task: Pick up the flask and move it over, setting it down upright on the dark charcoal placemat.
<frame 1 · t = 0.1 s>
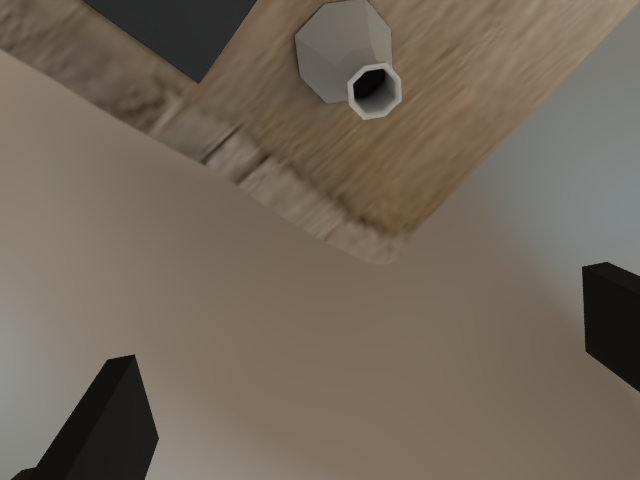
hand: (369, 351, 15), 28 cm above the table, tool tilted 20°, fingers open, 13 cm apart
flask: (343, 51, 37), on the table
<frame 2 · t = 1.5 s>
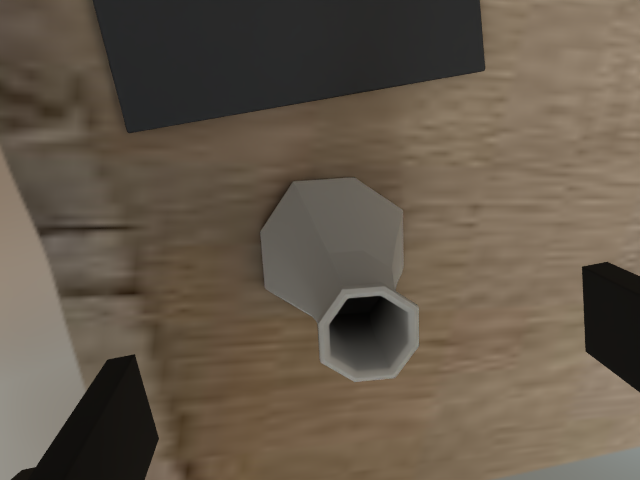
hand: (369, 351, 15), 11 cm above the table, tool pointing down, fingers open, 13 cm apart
flask: (332, 247, 25), on the table
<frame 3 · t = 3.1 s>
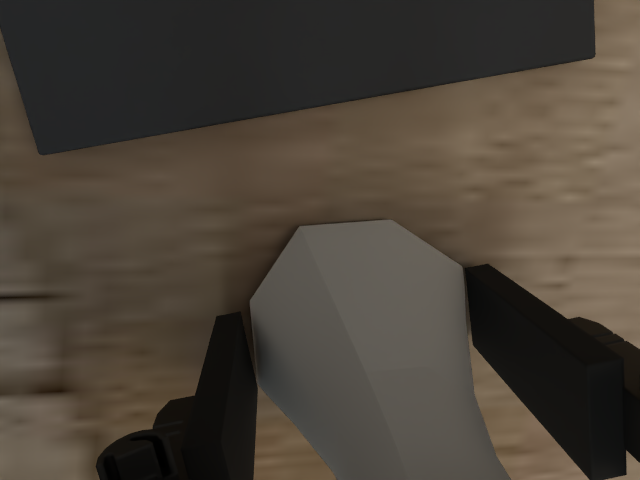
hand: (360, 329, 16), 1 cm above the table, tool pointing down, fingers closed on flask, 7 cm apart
flask: (356, 319, 17), on the table, touching gripper
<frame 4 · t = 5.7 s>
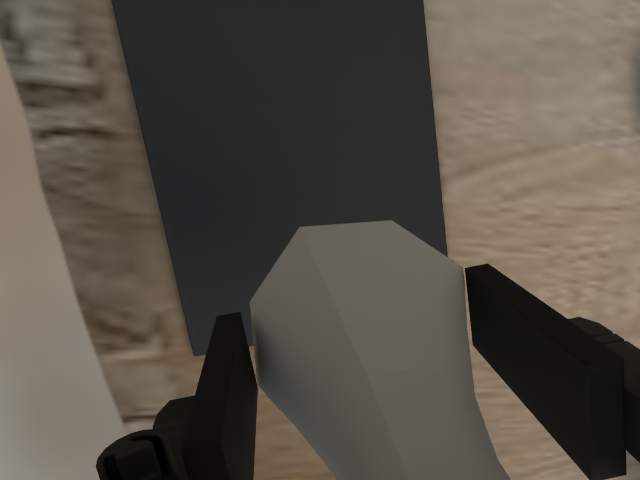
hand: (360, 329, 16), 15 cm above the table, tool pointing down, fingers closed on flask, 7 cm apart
flask: (356, 320, 17), point 14 cm above the table, touching gripper
placemat: (298, 168, 29), on the table
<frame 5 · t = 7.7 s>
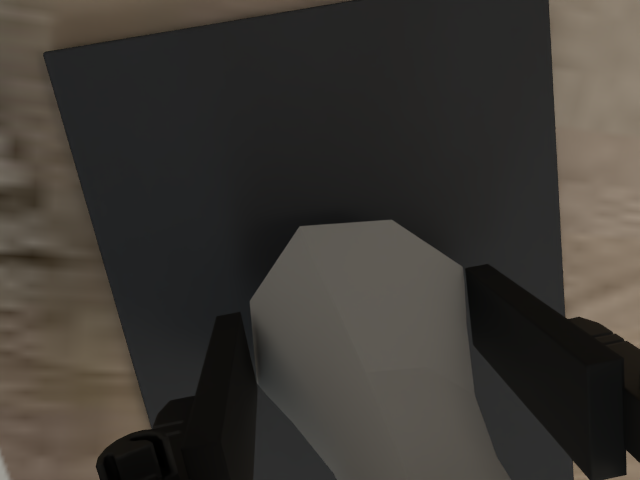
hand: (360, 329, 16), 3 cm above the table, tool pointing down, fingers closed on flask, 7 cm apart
flask: (356, 319, 17), point 2 cm above the table, touching gripper
placemat: (346, 297, 19), on the table
when the fingers open (1 cm above the table, at t = 8.6 s): flask stays where it is, resting on placemat.
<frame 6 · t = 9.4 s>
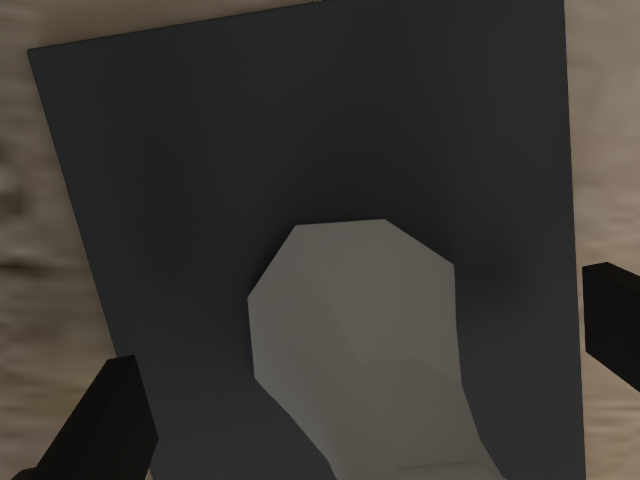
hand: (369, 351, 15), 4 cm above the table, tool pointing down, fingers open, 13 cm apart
flask: (351, 316, 18), point 1 cm above the table, touching placemat
placemat: (349, 308, 18), on the table
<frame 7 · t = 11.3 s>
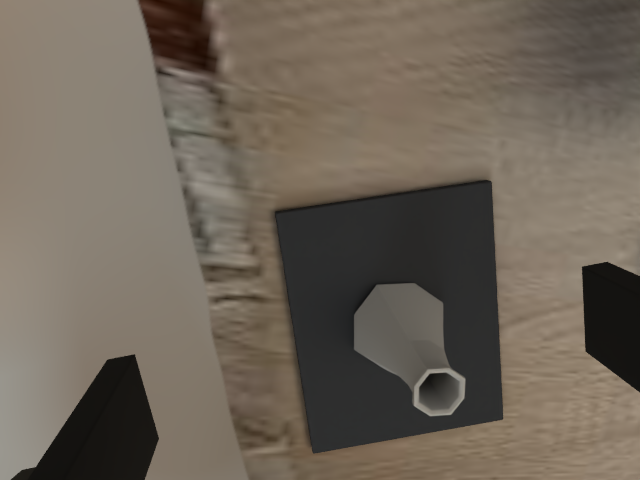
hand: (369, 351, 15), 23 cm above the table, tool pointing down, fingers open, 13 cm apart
flask: (396, 323, 40), point 1 cm above the table, touching placemat
placemat: (395, 320, 40), on the table
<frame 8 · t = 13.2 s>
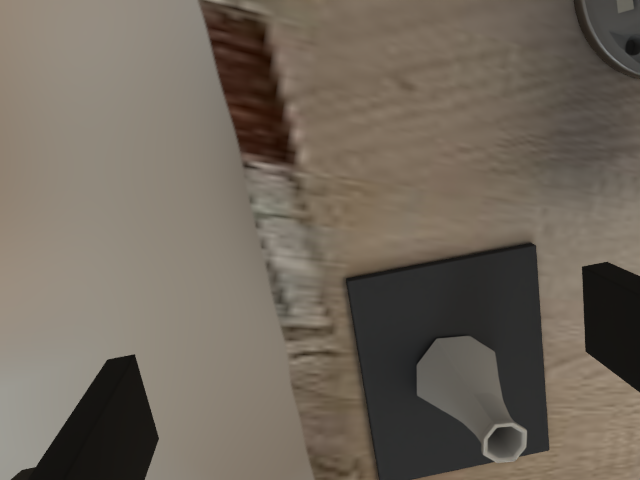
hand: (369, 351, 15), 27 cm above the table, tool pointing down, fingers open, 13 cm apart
flask: (453, 370, 45), point 1 cm above the table, touching placemat
placemat: (451, 367, 45), on the table
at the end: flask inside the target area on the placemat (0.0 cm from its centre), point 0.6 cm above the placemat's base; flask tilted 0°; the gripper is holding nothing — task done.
